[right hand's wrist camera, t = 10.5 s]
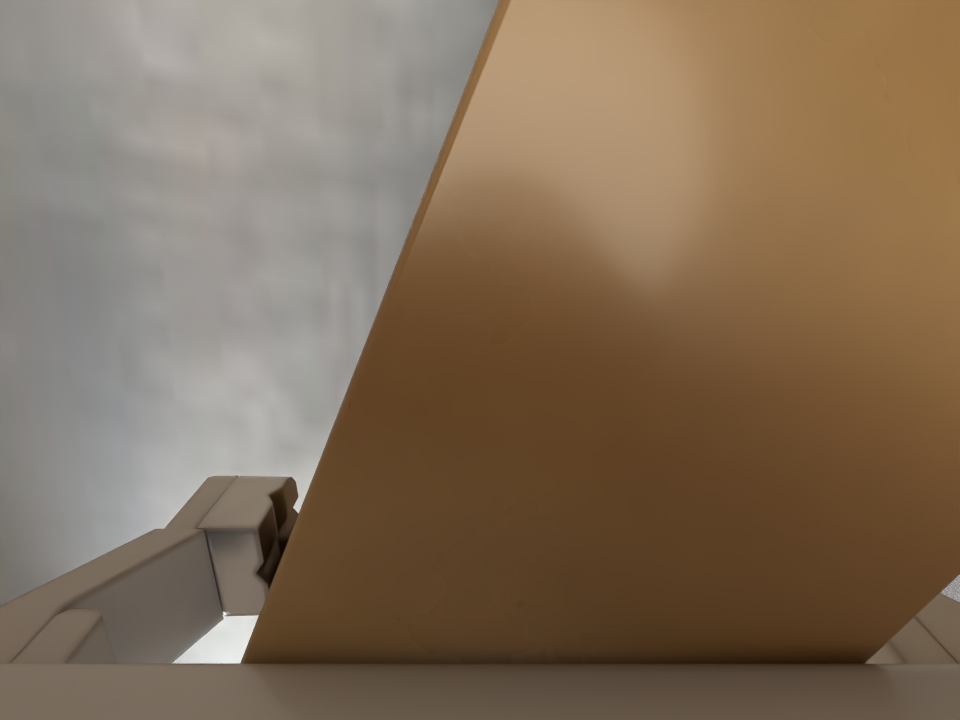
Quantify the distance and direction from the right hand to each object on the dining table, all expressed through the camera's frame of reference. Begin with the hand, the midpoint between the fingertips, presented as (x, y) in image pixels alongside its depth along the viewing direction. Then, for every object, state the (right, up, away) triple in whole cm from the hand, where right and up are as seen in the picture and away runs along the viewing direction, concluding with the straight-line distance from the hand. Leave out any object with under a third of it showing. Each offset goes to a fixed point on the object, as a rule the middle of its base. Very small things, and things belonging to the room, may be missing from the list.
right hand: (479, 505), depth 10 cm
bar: (+4, +9, +1) cm, 9 cm away
